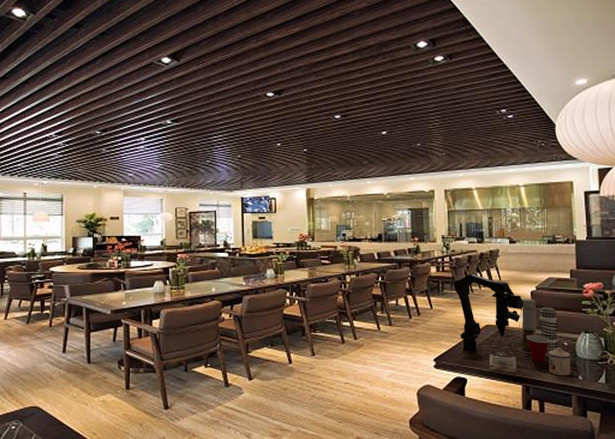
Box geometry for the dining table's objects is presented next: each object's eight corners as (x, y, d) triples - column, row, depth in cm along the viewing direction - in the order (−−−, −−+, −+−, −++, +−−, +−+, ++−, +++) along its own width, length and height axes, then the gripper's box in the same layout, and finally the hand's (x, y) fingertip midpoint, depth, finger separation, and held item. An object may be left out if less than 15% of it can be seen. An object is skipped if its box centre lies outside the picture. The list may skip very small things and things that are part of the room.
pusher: (493, 367, 213) (493, 357, 213) (493, 366, 216) (493, 356, 216) (512, 370, 210) (512, 359, 210) (512, 368, 212) (511, 358, 212)
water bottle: (536, 341, 262) (536, 299, 262) (535, 344, 255) (535, 301, 255) (520, 339, 267) (519, 298, 267) (518, 342, 260) (517, 300, 260)
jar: (495, 367, 215) (495, 355, 215) (495, 363, 221) (495, 351, 221) (509, 368, 213) (509, 356, 213) (508, 364, 218) (508, 352, 219)
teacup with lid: (546, 368, 212) (546, 344, 212) (567, 370, 210) (566, 346, 210) (553, 377, 201) (553, 351, 201) (575, 378, 198) (575, 353, 198)
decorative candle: (546, 350, 241) (545, 305, 242) (562, 355, 233) (561, 308, 233) (535, 353, 237) (534, 307, 238) (551, 357, 229) (550, 310, 229)
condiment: (538, 351, 241) (538, 329, 241) (530, 353, 237) (529, 331, 237) (525, 348, 247) (525, 327, 248) (517, 350, 243) (517, 329, 243)
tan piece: (489, 369, 212) (489, 364, 212) (490, 359, 228) (490, 354, 228) (516, 372, 207) (516, 367, 207) (515, 361, 223) (515, 356, 223)
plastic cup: (538, 365, 217) (537, 341, 217) (522, 358, 228) (521, 336, 228) (555, 363, 220) (555, 339, 220) (539, 357, 231) (538, 334, 231)
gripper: (519, 310, 217) (520, 341, 216) (518, 304, 234) (518, 333, 234) (495, 309, 221) (495, 339, 221) (495, 302, 238) (496, 331, 238)
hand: (502, 335), depth 228 cm, fingers closed
